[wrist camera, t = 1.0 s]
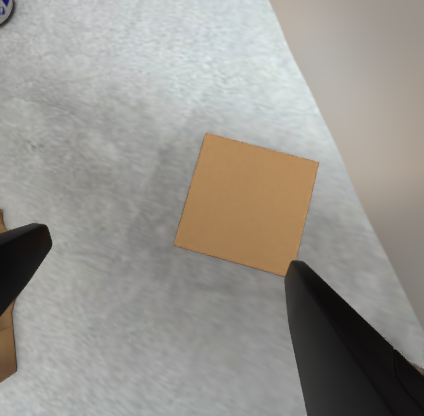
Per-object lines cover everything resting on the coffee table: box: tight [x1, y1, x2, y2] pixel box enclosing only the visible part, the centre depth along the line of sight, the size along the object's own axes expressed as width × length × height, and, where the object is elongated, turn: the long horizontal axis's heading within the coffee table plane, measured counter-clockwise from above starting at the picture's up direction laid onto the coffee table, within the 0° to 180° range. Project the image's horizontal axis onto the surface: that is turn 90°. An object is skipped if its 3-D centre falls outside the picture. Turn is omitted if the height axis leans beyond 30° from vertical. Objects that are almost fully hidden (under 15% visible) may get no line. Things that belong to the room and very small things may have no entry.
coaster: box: [174, 133, 319, 276], centre depth 23 cm, size 12×12×1 cm
